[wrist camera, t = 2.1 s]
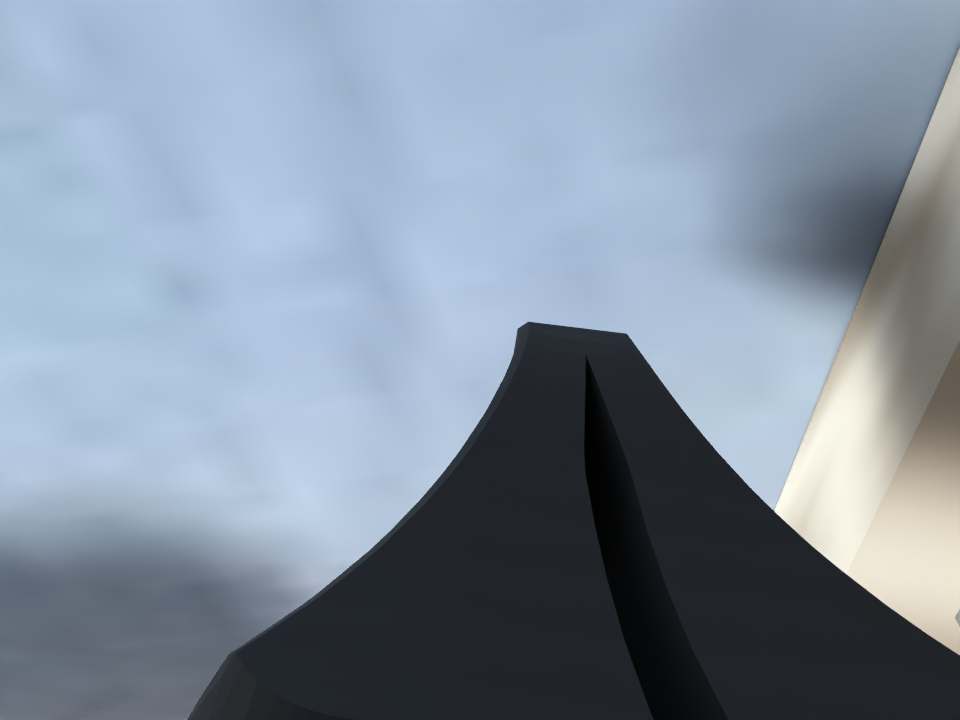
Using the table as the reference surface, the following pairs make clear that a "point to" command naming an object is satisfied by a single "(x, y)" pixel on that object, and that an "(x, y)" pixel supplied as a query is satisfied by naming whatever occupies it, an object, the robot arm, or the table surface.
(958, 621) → the tile
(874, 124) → the table surface
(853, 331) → the board
